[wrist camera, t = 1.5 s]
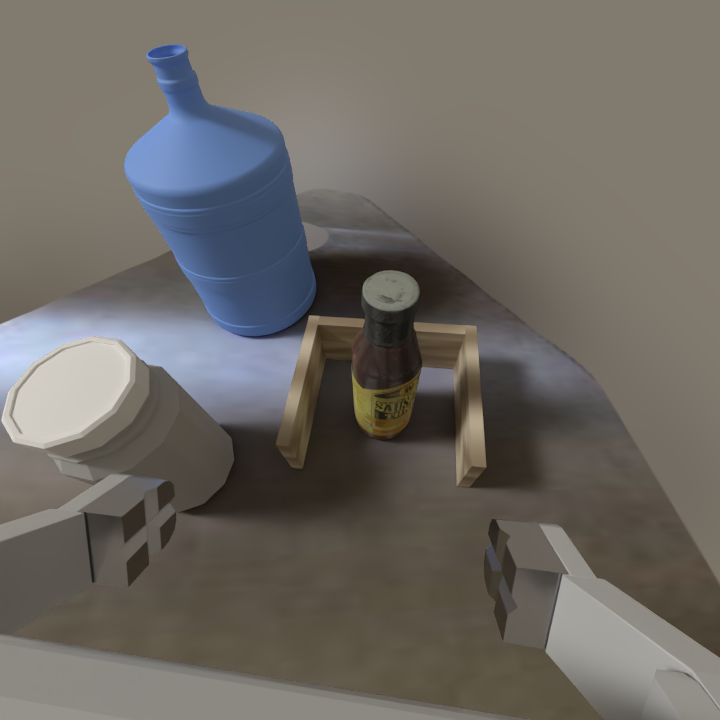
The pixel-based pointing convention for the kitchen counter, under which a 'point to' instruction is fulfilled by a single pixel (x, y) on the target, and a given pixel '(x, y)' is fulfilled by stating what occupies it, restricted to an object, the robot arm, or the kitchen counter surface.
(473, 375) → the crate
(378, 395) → the sauce bottle
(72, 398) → the jar
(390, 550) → the kitchen counter surface
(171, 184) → the water jug
